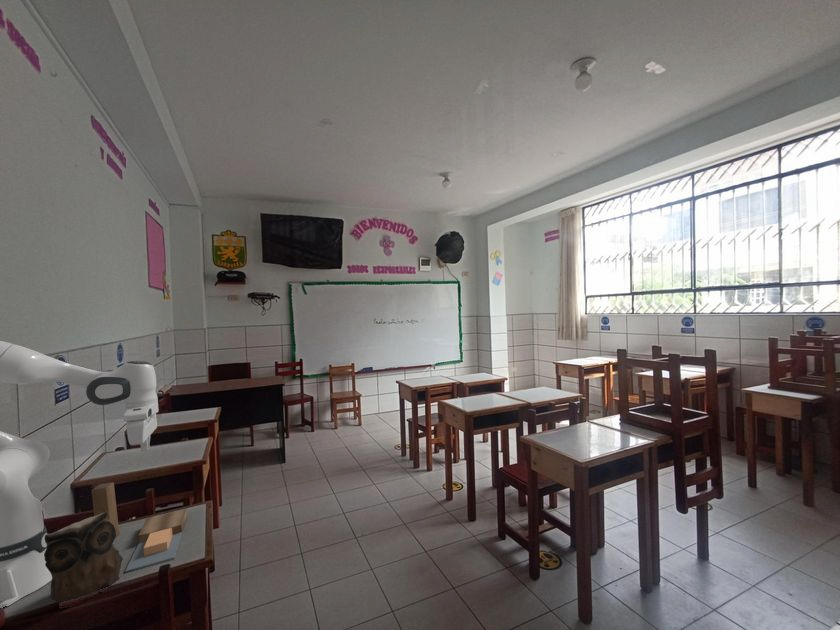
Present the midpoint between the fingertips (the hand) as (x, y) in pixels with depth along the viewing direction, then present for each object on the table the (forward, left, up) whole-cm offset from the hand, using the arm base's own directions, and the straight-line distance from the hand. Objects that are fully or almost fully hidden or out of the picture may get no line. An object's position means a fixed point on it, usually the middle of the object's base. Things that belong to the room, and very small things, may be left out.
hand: (145, 450), depth 132 cm
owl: (-11, -23, -29) cm, 39 cm away
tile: (+3, -10, -28) cm, 30 cm away
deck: (+3, +1, -28) cm, 29 cm away
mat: (+3, -13, -28) cm, 31 cm away
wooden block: (-16, +6, -29) cm, 33 cm away
